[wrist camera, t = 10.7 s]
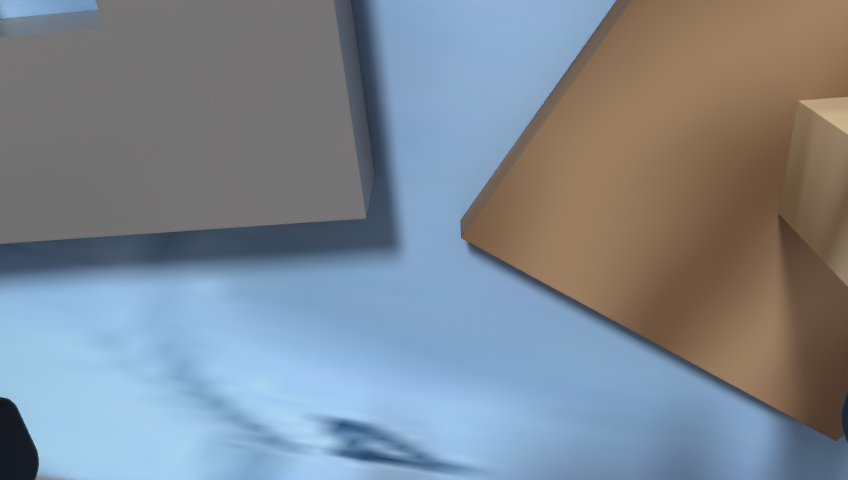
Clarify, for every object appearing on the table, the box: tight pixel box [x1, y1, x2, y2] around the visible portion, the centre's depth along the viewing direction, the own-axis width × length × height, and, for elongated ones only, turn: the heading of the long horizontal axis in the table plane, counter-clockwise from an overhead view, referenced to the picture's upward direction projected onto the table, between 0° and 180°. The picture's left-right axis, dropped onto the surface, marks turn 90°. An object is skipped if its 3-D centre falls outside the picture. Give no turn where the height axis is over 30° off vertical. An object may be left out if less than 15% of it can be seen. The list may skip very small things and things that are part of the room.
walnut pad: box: [460, 0, 848, 441], centre depth 17 cm, size 14×14×1 cm
